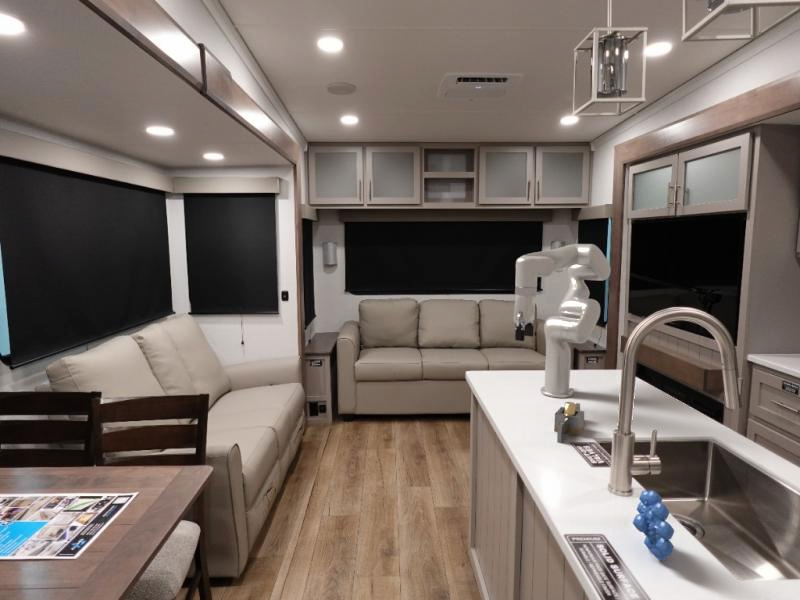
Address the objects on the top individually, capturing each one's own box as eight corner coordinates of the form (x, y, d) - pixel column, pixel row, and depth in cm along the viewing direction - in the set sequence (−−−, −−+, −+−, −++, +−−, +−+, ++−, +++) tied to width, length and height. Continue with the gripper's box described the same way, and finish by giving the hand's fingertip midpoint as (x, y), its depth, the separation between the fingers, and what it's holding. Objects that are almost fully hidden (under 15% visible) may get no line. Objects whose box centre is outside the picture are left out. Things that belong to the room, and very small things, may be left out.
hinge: (566, 416, 167) (567, 400, 166) (589, 421, 163) (589, 404, 162) (546, 439, 148) (547, 421, 147) (571, 445, 144) (572, 426, 143)
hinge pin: (565, 427, 158) (566, 401, 156) (575, 429, 156) (576, 403, 155) (562, 430, 155) (563, 404, 154) (572, 432, 153) (573, 405, 152)
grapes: (618, 532, 101) (622, 479, 99) (651, 533, 100) (655, 480, 99) (643, 570, 89) (647, 510, 88) (680, 571, 89) (685, 511, 87)
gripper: (523, 289, 180) (522, 333, 182) (507, 293, 166) (505, 341, 168) (543, 290, 176) (541, 335, 178) (528, 294, 162) (526, 343, 164)
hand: (524, 338), depth 173 cm, fingers open, 9 cm apart
